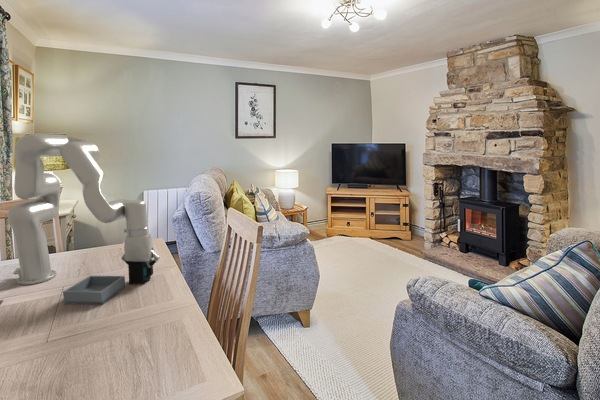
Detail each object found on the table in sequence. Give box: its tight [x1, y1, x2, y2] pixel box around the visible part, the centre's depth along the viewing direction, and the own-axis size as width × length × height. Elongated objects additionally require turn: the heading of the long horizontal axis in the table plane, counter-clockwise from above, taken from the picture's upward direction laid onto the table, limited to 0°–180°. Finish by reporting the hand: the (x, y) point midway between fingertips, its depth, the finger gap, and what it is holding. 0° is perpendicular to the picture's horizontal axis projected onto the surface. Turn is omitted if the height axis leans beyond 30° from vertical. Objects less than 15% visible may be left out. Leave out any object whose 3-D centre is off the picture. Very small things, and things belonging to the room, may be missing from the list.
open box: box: [62, 275, 127, 306], centre depth 119 cm, size 14×14×4 cm
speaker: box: [127, 261, 152, 286], centre depth 131 cm, size 8×6×10 cm
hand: (142, 275), depth 131 cm, fingers closed on speaker, 5 cm apart
